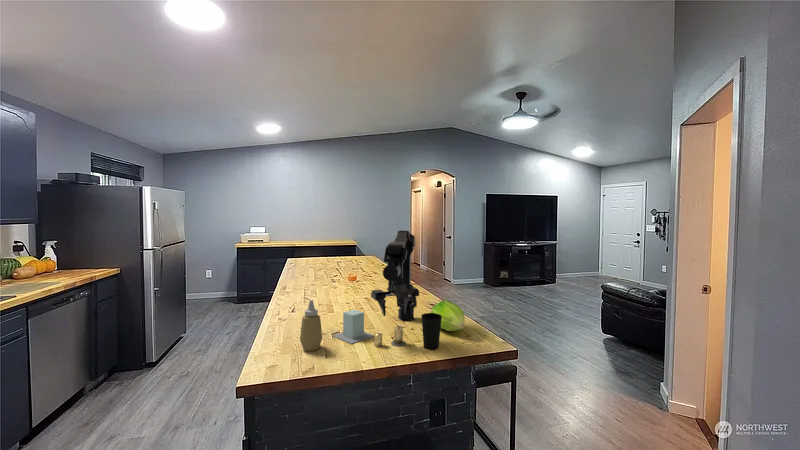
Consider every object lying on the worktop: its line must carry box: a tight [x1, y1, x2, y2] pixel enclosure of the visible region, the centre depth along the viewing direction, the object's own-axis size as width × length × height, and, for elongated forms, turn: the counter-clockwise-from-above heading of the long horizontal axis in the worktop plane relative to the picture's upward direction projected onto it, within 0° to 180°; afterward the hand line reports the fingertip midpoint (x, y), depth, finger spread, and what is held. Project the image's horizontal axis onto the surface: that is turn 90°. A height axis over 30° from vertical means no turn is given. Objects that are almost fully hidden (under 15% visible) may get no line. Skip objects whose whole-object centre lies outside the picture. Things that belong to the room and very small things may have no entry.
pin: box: [373, 332, 383, 348], centre depth 131 cm, size 3×3×4 cm
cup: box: [420, 312, 442, 351], centre depth 130 cm, size 8×8×12 cm
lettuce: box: [430, 299, 465, 332], centre depth 148 cm, size 14×20×12 cm
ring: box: [390, 340, 407, 347], centre depth 134 cm, size 6×6×1 cm
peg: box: [393, 325, 404, 344], centre depth 134 cm, size 3×3×6 cm
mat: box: [332, 331, 374, 345], centre depth 141 cm, size 12×12×1 cm
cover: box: [342, 309, 365, 339], centre depth 141 cm, size 6×6×10 cm
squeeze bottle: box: [299, 299, 323, 352], centre depth 128 cm, size 8×8×18 cm
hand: (395, 314), depth 137 cm, fingers open, 9 cm apart
